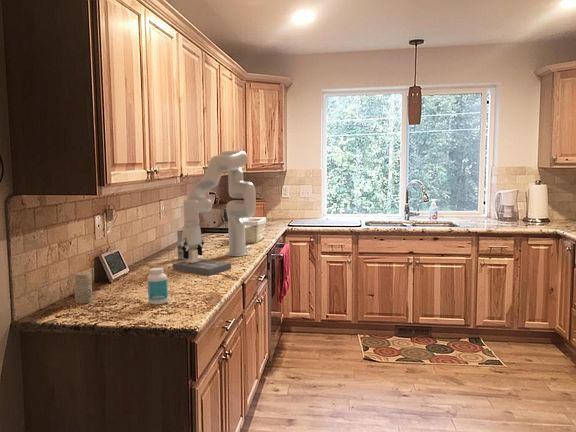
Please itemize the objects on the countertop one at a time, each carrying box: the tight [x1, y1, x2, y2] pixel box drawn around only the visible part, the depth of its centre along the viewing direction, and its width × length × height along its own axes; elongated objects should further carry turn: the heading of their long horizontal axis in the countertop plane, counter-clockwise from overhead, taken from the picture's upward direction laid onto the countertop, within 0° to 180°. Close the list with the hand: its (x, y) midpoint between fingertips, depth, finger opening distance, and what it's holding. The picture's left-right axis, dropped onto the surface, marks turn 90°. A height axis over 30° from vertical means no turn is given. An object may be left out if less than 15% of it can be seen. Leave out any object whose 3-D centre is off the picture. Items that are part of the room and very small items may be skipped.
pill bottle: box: [146, 267, 169, 306], centre depth 191 cm, size 8×7×14 cm
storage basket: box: [242, 216, 267, 244], centre depth 331 cm, size 24×16×15 cm
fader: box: [184, 249, 202, 263], centre depth 250 cm, size 6×5×6 cm
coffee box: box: [176, 229, 198, 261], centre depth 274 cm, size 9×6×16 cm
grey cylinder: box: [74, 271, 93, 305], centre depth 193 cm, size 6×8×12 cm
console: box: [172, 258, 232, 276], centre depth 247 cm, size 16×25×3 cm, turn 56°
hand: (193, 256), depth 250 cm, fingers open, 9 cm apart
